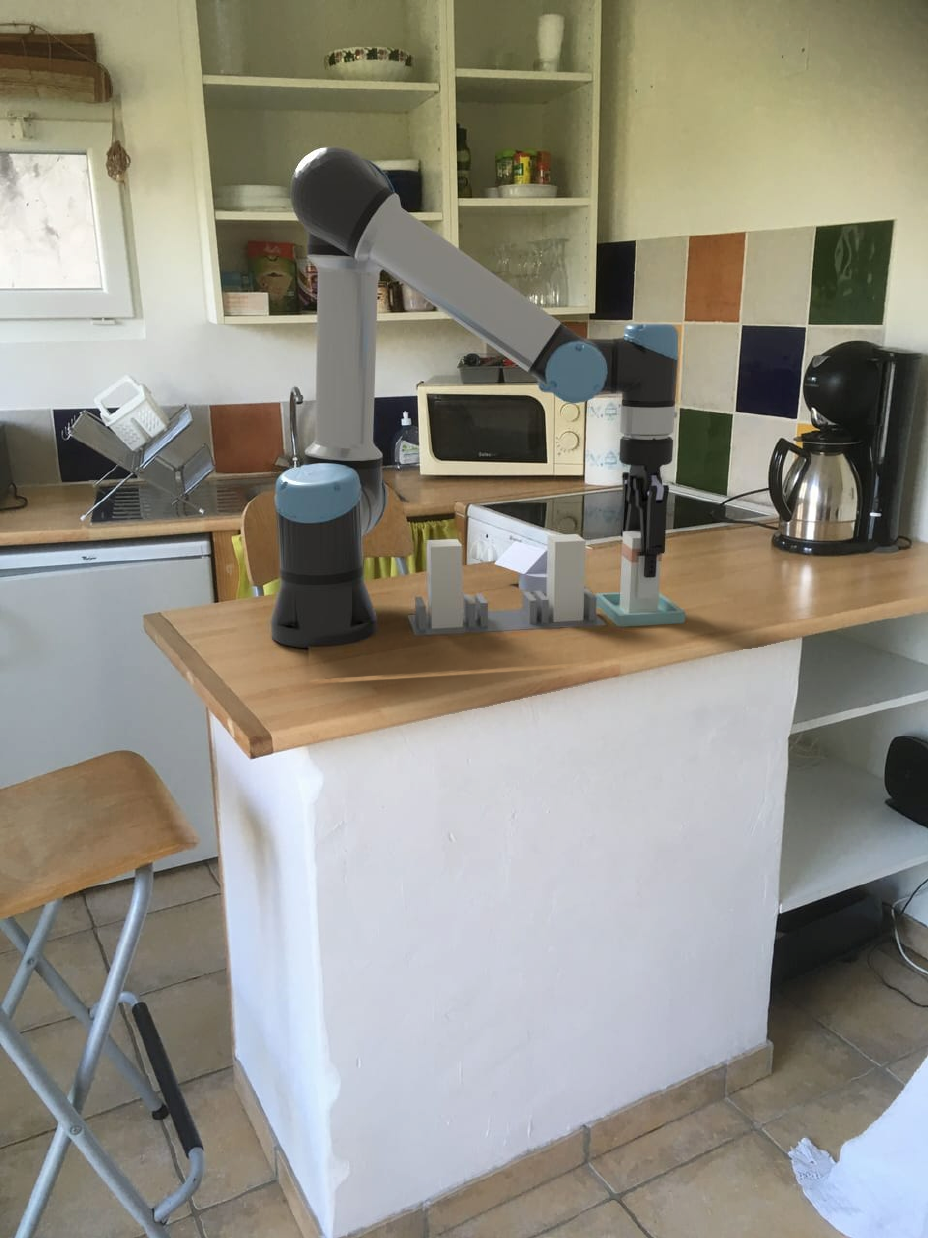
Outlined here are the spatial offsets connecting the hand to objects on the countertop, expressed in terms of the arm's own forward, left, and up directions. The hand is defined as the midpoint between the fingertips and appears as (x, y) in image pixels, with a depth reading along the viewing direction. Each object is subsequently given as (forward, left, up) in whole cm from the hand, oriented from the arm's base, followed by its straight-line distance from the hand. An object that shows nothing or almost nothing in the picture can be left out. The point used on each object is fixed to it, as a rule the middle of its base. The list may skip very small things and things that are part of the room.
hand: (639, 591), depth 153 cm
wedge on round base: (-11, +19, -4) cm, 22 cm away
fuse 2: (-11, 0, -3) cm, 12 cm away
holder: (-20, 0, -4) cm, 21 cm away
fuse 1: (-29, 0, -3) cm, 30 cm away
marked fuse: (0, 0, -3) cm, 3 cm away
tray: (0, 0, -4) cm, 4 cm away
